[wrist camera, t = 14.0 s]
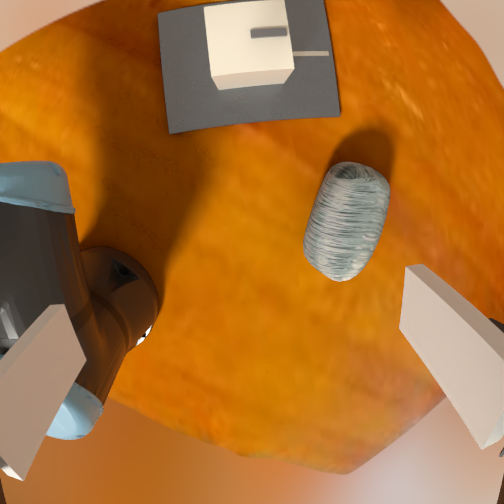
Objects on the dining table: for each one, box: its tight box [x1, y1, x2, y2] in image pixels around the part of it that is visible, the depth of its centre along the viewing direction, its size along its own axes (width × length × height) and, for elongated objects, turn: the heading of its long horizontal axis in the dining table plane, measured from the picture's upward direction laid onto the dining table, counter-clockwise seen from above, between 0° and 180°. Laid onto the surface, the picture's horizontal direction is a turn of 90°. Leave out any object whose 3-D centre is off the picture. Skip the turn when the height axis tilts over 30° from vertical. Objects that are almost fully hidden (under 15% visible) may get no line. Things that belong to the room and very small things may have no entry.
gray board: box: [158, 0, 340, 134], centre depth 30 cm, size 20×16×5 cm
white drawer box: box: [204, 0, 295, 90], centre depth 28 cm, size 7×7×9 cm
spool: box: [303, 162, 390, 281], centre depth 36 cm, size 14×10×10 cm
